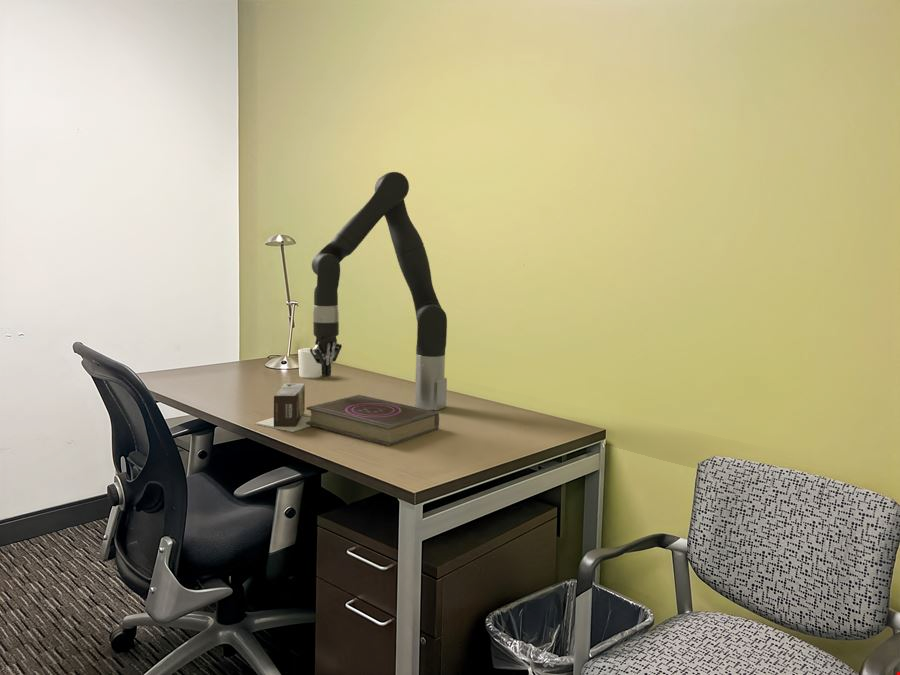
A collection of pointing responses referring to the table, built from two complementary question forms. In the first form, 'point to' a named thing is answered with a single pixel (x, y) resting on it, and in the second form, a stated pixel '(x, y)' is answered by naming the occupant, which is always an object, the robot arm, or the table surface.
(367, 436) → the book
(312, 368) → the mug
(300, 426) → the mat
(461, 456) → the table surface
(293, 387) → the coffee box
